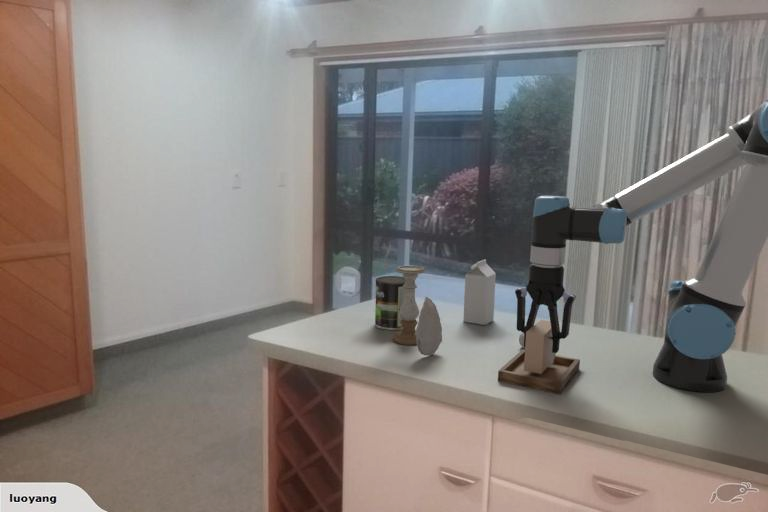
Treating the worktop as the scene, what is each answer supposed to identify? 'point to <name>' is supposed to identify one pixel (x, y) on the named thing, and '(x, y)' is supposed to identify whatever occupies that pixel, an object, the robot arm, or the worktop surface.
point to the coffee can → (389, 302)
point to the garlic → (521, 339)
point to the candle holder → (408, 306)
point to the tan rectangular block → (537, 347)
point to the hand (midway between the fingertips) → (540, 363)
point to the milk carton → (479, 294)
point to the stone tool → (428, 329)
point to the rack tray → (548, 381)
